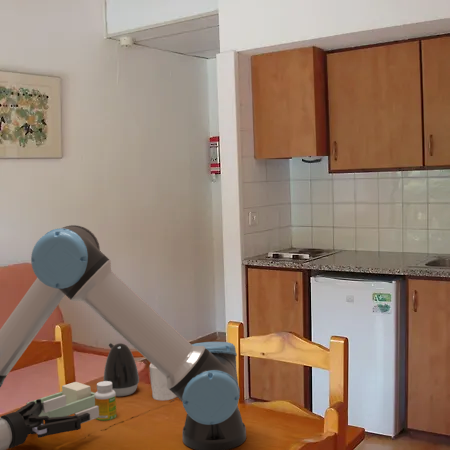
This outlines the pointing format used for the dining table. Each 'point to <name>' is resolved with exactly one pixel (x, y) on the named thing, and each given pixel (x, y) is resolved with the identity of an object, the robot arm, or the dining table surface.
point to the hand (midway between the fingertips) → (81, 405)
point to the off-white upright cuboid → (75, 391)
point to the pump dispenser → (121, 370)
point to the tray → (68, 406)
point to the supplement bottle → (105, 401)
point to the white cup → (159, 385)
